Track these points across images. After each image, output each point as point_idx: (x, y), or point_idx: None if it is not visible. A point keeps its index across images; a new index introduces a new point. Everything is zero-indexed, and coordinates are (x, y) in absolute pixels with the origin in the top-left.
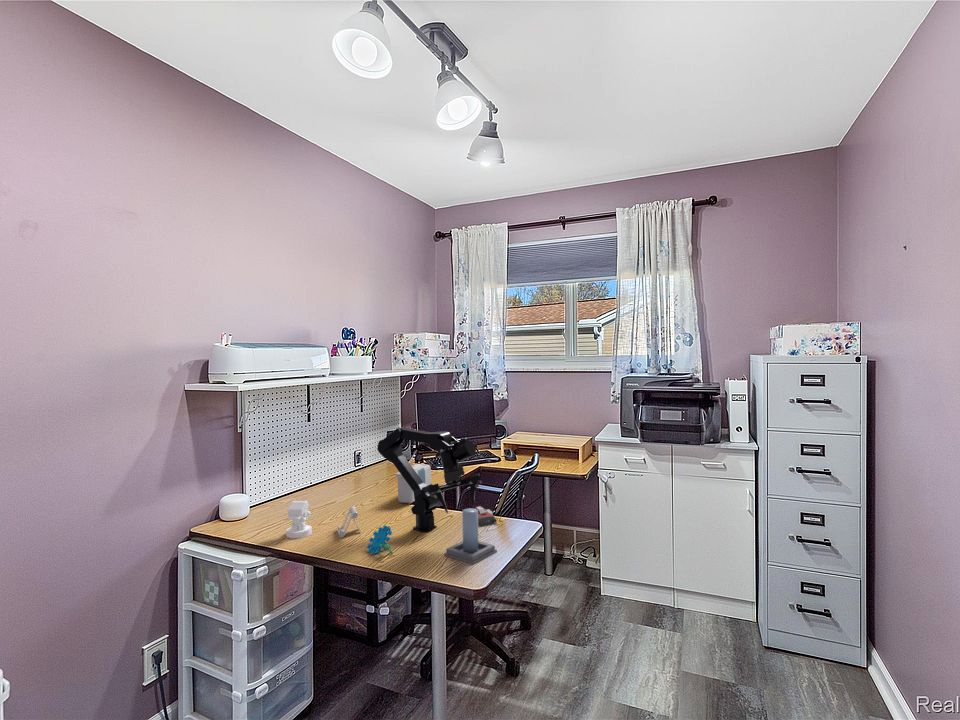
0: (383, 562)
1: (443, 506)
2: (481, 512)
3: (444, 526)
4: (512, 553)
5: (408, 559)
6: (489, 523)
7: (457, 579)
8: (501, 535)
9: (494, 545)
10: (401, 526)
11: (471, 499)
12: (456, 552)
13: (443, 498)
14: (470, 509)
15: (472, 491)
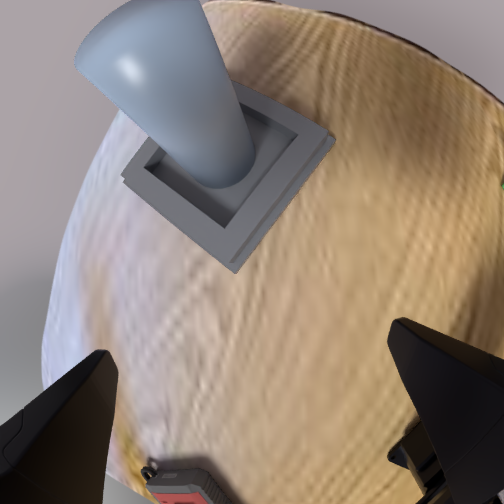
0: (491, 123)
1: (457, 341)
2: None
3: (354, 468)
4: (88, 174)
5: (445, 126)
6: (168, 471)
7: (258, 16)
8: (110, 352)
9: (121, 174)
10: None
11: (76, 389)
12: (277, 103)
13: (474, 451)
14: (118, 44)
15: (3, 445)
